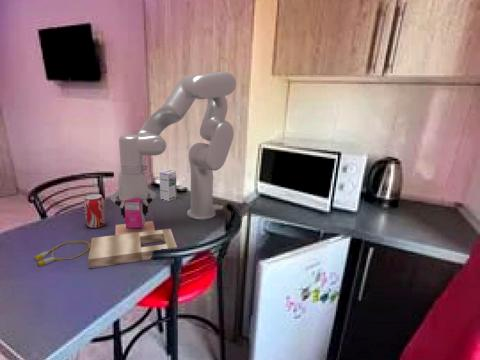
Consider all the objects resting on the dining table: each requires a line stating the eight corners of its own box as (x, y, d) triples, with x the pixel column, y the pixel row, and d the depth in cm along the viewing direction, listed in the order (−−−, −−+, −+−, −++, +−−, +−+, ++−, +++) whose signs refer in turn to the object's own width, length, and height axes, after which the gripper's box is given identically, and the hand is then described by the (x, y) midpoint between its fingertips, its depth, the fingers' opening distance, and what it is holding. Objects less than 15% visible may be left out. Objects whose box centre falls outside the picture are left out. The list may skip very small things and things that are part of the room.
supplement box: (129, 222, 114) (128, 194, 111) (145, 222, 115) (144, 194, 111) (125, 229, 108) (123, 199, 105) (141, 229, 109) (140, 200, 106)
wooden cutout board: (170, 236, 109) (170, 228, 108) (177, 255, 97) (177, 247, 96) (92, 245, 100) (92, 237, 99) (89, 268, 87) (88, 259, 87)
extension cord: (35, 251, 96) (34, 245, 96) (89, 240, 104) (88, 235, 104) (33, 270, 86) (32, 264, 86) (93, 257, 94) (92, 251, 94)
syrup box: (168, 201, 143) (168, 173, 139) (160, 199, 146) (159, 170, 142) (176, 198, 148) (176, 170, 144) (168, 196, 150) (167, 168, 146)
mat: (152, 222, 120) (152, 221, 120) (156, 235, 109) (156, 234, 109) (115, 226, 115) (115, 224, 115) (115, 240, 104) (115, 238, 104)
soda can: (98, 230, 111) (95, 200, 108) (82, 227, 112) (78, 198, 109) (110, 222, 118) (107, 194, 114) (94, 220, 119) (91, 192, 116)
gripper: (156, 166, 112) (157, 209, 117) (106, 168, 106) (109, 214, 111) (158, 171, 105) (159, 217, 110) (105, 173, 99) (109, 222, 104)
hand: (134, 215), depth 110 cm, fingers closed on supplement box, 6 cm apart
